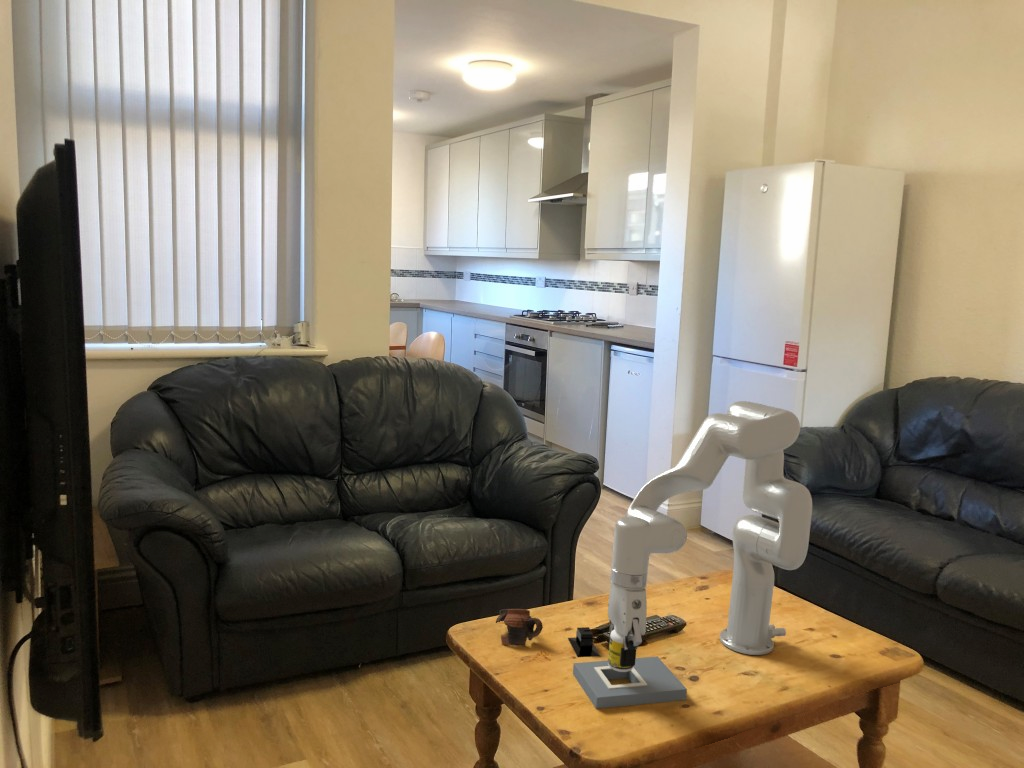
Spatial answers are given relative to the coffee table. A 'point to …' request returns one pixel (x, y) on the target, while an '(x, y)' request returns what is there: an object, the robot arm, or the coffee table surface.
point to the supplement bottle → (617, 651)
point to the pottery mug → (519, 626)
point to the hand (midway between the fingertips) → (621, 657)
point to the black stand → (584, 643)
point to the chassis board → (645, 687)
